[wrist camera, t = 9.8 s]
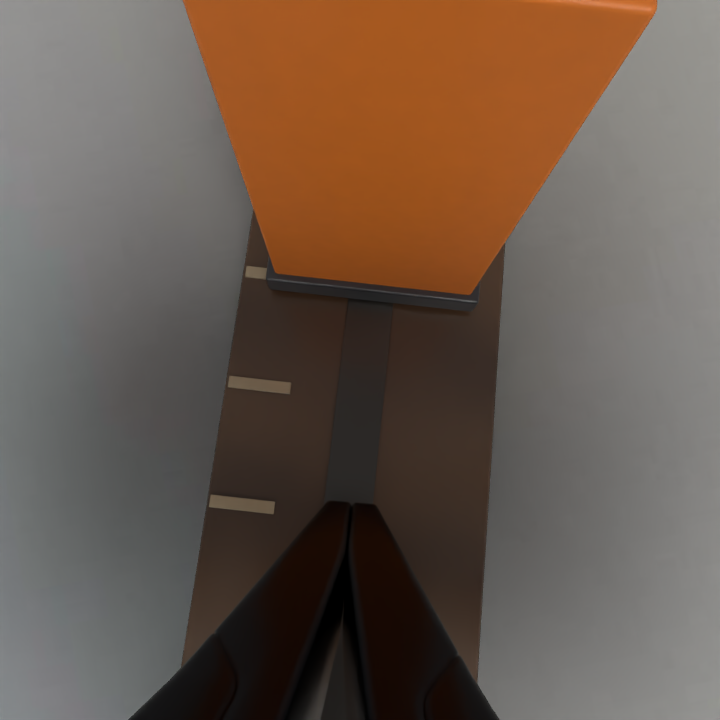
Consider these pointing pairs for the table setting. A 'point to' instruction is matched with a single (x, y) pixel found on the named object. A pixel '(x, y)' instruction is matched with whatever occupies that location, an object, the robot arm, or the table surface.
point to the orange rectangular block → (403, 128)
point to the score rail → (353, 443)
